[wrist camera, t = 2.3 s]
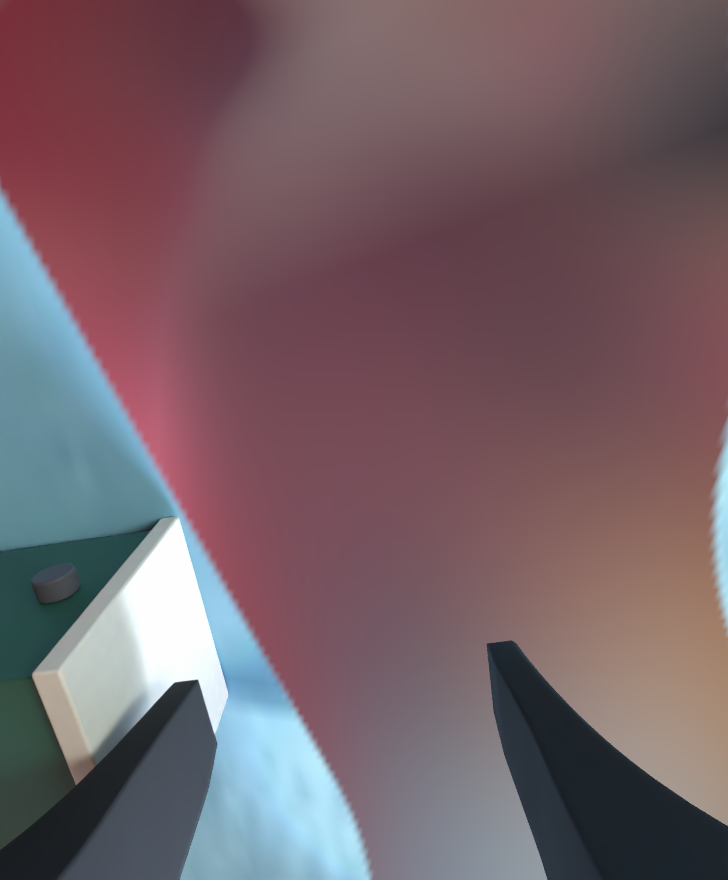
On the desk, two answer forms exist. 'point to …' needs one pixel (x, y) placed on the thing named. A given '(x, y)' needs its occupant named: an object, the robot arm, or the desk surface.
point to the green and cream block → (92, 656)
